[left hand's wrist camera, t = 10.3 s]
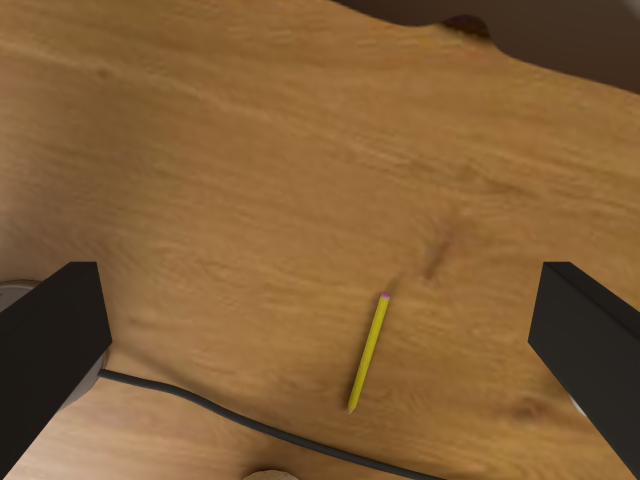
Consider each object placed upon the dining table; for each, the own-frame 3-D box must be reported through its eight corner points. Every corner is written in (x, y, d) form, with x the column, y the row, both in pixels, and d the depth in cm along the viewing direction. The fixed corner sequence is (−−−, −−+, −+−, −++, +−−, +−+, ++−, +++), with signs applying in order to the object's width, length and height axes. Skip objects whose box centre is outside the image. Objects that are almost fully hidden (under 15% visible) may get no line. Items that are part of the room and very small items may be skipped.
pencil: (380, 291, 46) (381, 296, 45) (389, 293, 46) (391, 297, 45) (344, 411, 51) (344, 417, 50) (352, 412, 51) (353, 419, 50)
